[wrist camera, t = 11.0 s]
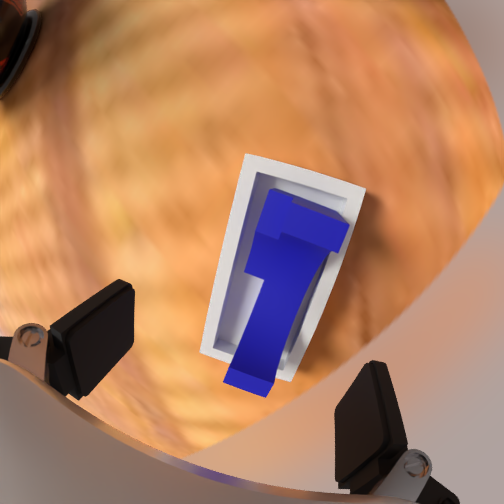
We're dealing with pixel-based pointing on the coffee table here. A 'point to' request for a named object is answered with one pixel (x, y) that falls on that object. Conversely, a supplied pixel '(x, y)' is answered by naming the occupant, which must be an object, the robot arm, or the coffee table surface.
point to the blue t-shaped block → (281, 281)
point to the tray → (248, 287)
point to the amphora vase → (16, 39)
